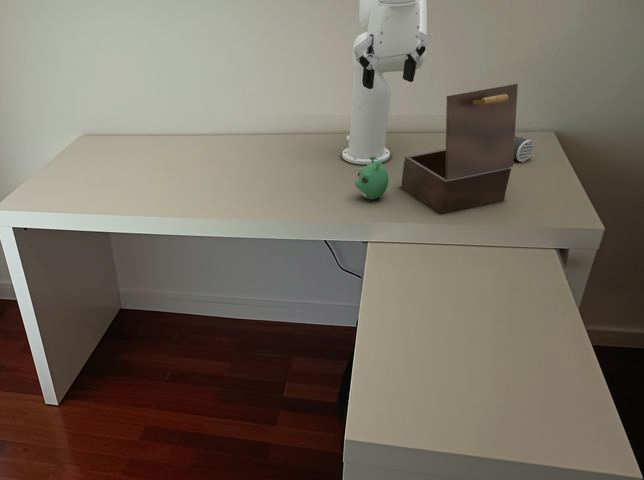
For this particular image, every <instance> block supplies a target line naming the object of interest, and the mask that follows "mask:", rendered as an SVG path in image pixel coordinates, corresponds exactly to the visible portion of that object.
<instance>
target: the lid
mask: <svg viewBox="0 0 644 480" xmlns="http://www.w3.org/2000/svg"><path fill="white" fill-rule="evenodd" d="M518 86H519V85H518V83H511V84H510V83H509V84H506V85H500V86H494V87H489V88H483V89H478V90H471V91H466V92H460V93H454V94H449V95H446V107H445V108H446V113H445V114H446V115H445V123H446V124H445V149H446V167H445V180H450V179H455V178H460V177H465V176H470V175H475V174H480V173H484V172H489V171H494V170H499V169H504V168H513V167H514V160H515V159H514V142H515V137H516V123H517V106H518V105H517V104H518V88H519V87H518Z"/></svg>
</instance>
